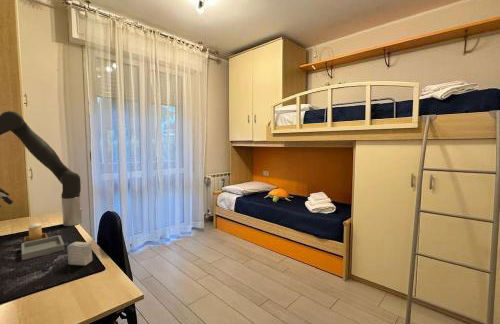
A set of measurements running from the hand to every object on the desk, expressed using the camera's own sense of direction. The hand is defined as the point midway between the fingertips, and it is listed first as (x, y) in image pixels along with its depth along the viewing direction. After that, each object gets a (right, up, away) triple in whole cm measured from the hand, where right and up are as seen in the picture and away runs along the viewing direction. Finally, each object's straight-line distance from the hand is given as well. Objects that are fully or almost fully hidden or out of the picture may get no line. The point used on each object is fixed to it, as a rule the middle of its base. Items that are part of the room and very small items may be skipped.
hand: (5, 205), depth 121 cm
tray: (+22, -21, -4) cm, 31 cm away
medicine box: (+49, -23, -15) cm, 56 cm away
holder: (+11, -20, +5) cm, 23 cm away
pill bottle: (+11, -20, +5) cm, 23 cm away
